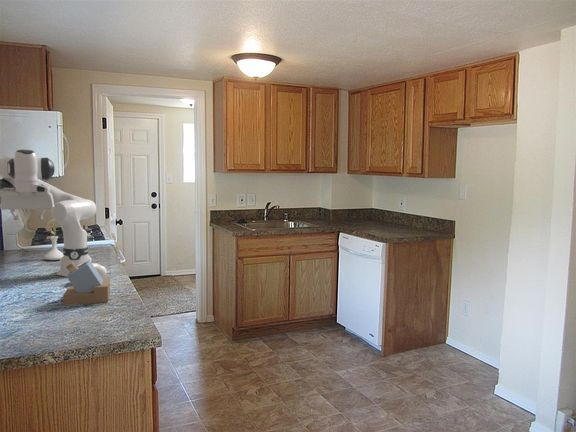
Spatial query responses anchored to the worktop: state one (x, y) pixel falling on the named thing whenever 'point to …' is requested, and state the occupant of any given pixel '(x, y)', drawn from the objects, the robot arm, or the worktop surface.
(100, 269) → the lightbulb
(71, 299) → the socket
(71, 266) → the peg
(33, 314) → the worktop surface
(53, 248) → the flower in vase
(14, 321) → the worktop surface
